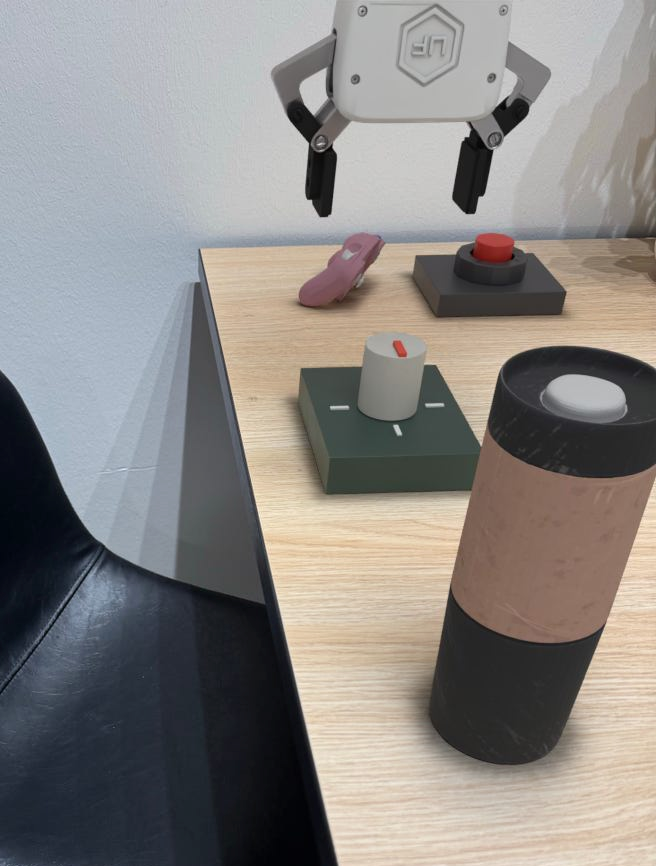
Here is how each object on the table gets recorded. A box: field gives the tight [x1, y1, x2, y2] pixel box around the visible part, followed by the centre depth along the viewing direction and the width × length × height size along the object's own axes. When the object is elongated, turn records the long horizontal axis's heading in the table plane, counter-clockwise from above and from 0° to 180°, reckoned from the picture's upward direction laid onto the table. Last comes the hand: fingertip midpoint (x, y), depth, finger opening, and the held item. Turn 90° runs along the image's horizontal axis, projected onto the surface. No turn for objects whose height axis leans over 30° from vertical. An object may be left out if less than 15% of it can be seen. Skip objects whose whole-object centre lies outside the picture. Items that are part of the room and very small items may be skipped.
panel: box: [297, 364, 482, 495], centre depth 79 cm, size 14×11×3 cm
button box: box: [412, 241, 568, 318], centre depth 100 cm, size 12×10×4 cm
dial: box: [358, 331, 428, 421], centre depth 76 cm, size 4×4×5 cm
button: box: [473, 232, 515, 262], centre depth 99 cm, size 4×4×2 cm
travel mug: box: [429, 345, 656, 765], centre depth 51 cm, size 8×8×20 cm
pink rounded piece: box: [298, 228, 386, 307], centre depth 100 cm, size 10×5×7 cm, turn 154°
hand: (392, 209), depth 69 cm, fingers open, 9 cm apart
